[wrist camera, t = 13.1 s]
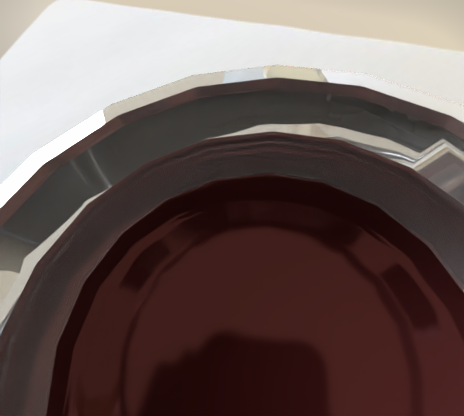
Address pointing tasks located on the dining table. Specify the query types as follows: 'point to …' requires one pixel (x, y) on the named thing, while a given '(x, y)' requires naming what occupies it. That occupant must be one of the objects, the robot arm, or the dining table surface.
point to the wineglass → (240, 253)
